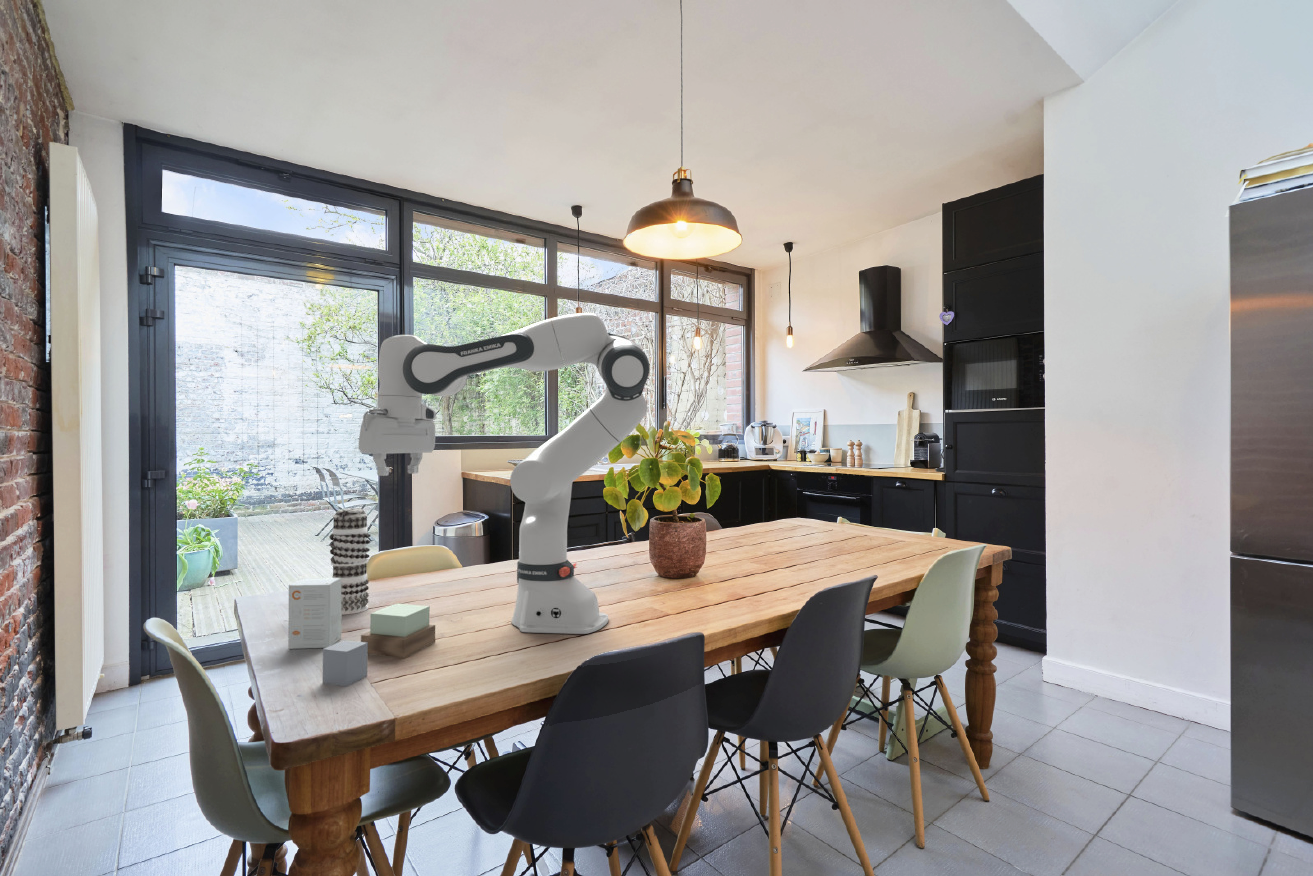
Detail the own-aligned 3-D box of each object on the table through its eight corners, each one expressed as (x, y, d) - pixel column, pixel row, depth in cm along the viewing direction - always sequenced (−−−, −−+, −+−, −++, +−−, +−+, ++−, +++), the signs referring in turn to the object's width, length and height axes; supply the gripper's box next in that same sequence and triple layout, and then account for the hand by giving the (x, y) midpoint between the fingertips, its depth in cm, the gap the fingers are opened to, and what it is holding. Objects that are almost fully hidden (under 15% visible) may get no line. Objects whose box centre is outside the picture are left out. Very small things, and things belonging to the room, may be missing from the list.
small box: (342, 638, 132) (342, 577, 132) (329, 648, 125) (329, 584, 125) (302, 639, 131) (302, 578, 131) (287, 649, 125) (287, 585, 125)
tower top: (429, 625, 129) (429, 606, 129) (404, 636, 122) (405, 616, 122) (396, 622, 131) (396, 603, 131) (370, 633, 124) (370, 613, 124)
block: (367, 676, 111) (367, 642, 111) (346, 686, 106) (346, 651, 106) (344, 673, 112) (344, 640, 112) (322, 683, 108) (322, 649, 108)
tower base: (435, 644, 130) (435, 625, 130) (403, 660, 120) (404, 639, 120) (394, 639, 132) (394, 621, 132) (360, 655, 123) (360, 635, 123)
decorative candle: (331, 617, 147) (332, 512, 147) (325, 608, 154) (326, 508, 155) (373, 611, 152) (374, 509, 152) (365, 603, 160) (366, 506, 160)
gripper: (377, 407, 123) (376, 477, 123) (440, 412, 142) (439, 472, 142) (351, 407, 124) (350, 476, 124) (417, 412, 144) (416, 472, 144)
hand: (398, 474), depth 133 cm, fingers open, 8 cm apart
